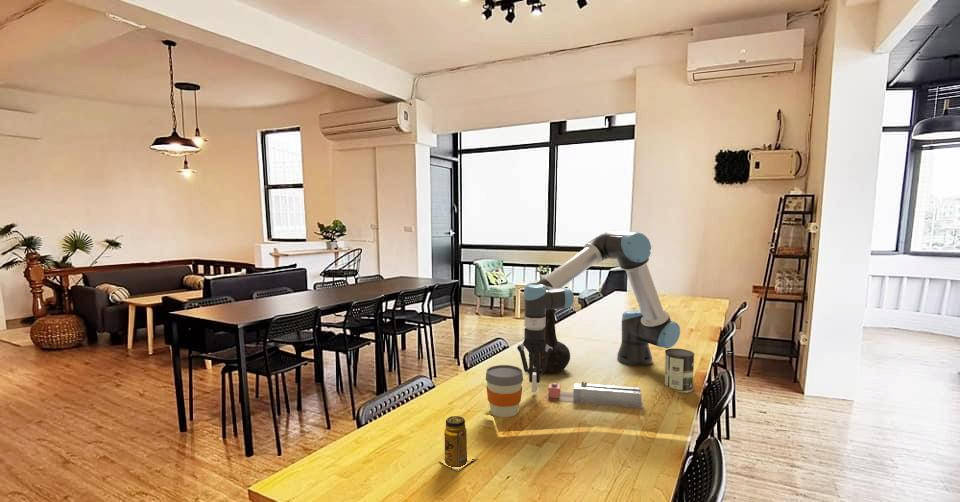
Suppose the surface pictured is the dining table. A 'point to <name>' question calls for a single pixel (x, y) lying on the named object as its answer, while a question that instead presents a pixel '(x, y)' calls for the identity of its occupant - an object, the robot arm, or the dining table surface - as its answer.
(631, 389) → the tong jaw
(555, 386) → the tab
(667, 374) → the coffee can
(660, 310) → the robot arm
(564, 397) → the board
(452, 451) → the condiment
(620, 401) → the grey long bar
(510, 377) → the reusable coffee cup
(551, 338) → the dark brown vase
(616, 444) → the dining table surface
